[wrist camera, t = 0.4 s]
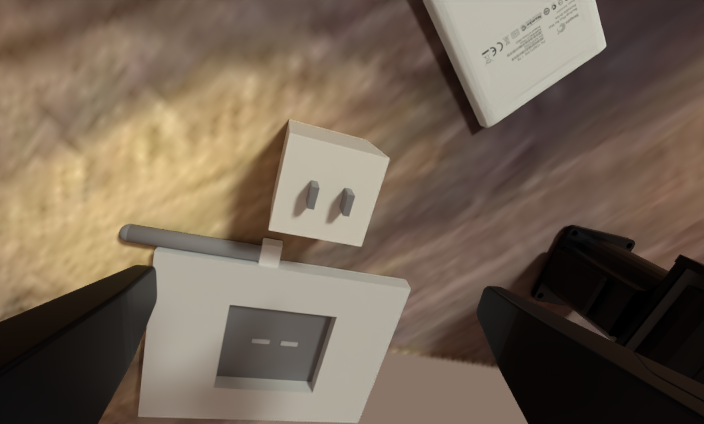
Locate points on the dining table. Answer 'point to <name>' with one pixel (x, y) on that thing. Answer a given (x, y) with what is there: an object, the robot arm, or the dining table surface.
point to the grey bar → (204, 244)
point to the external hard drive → (514, 47)
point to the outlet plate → (264, 339)
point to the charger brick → (326, 184)
